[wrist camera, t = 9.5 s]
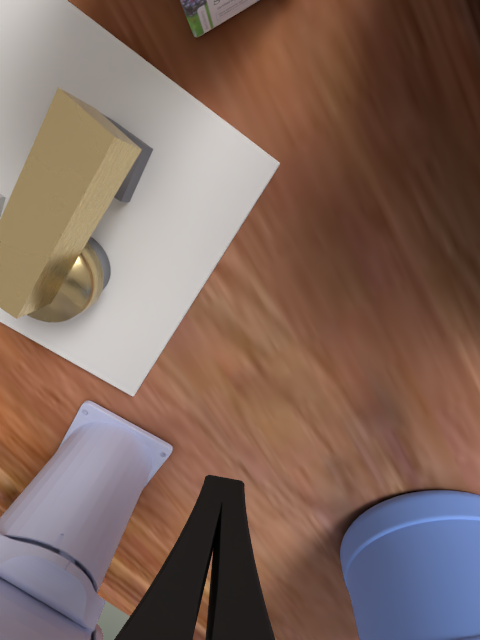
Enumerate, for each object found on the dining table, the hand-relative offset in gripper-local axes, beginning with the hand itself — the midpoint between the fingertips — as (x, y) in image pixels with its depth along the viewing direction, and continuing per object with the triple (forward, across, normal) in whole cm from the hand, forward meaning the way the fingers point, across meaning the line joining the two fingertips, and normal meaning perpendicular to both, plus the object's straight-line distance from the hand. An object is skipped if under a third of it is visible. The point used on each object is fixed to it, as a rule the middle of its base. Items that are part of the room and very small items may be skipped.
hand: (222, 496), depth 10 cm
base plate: (+10, +12, -8) cm, 17 cm away
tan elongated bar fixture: (+7, +9, -7) cm, 14 cm away
